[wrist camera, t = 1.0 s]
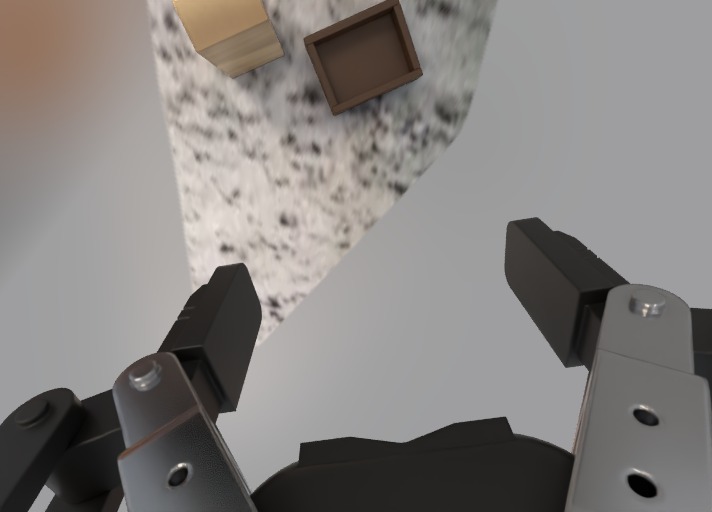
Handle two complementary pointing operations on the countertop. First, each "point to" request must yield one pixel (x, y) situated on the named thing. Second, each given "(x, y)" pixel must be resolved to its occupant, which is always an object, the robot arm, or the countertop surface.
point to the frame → (364, 56)
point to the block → (230, 33)
